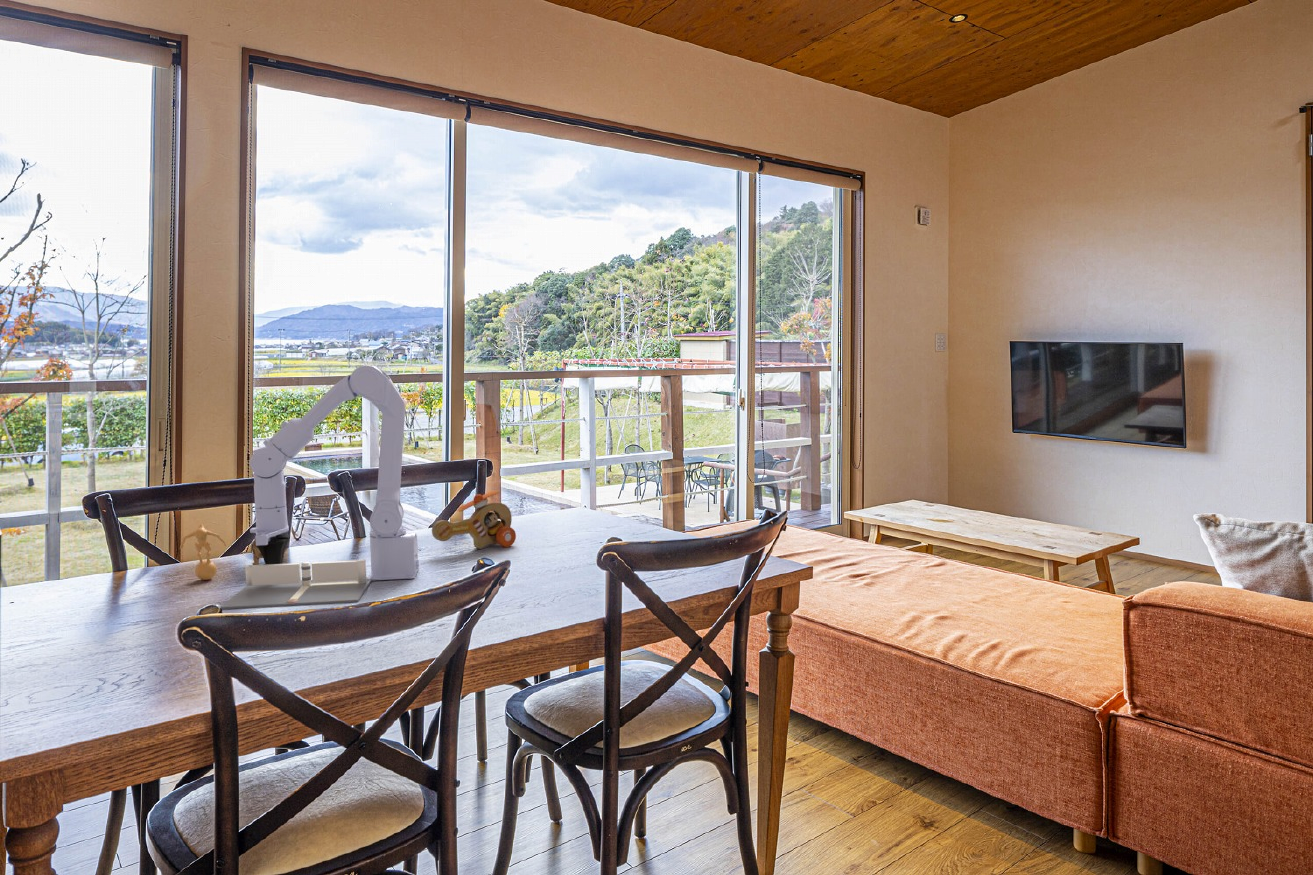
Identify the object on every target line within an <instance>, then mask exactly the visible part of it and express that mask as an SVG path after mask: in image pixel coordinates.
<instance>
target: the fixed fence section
mask: <svg viewBox="0 0 1313 875" xmlns="http://www.w3.org/2000/svg"><path fill="white" fill-rule="evenodd" d="M366 565H367V563H366V559H357V560H339V561H336V560H335V561H319V562H315V561H313V562H311V561H304V562H301V563H300V570H301V581H302V585H303V586H309V585H311V580H312V582H330V581H350V580H358V583H360V584H364V583H366V577H367V566H366Z"/></svg>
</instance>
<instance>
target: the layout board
mask: <svg viewBox="0 0 1313 875" xmlns="http://www.w3.org/2000/svg"><path fill="white" fill-rule="evenodd" d="M367 577H368V576H366V583H364V584H360V583H358V580H350V581H330V582H312V579H311V585H309V586H303V585H302V580H301V582H300V583H290V584H270V585H251V586H246V585H245V586H244V587H243V588H242V589H241V590H239V591H238V592H237V593H236V594H234V595H233V596H232V597H231V598H230V599H229V600H227V601H226V602H225V603H224V604H223V605H221V607H220V610H232V609H249V608H250V609H252V608H267V607H268V608H269V607H285V606H286V607H287V606H305V605H307V606H308V605H309V606H310V605H323V604H324V605H326V604H342V603H343V604H344V603H358V602H359V601H360V599H361V598H362V596H363V595H364V594H365V592H366V591H367V589H368V587H369V586H370V585H371V583H372V581H371V580H367Z"/></svg>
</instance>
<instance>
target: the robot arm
mask: <svg viewBox="0 0 1313 875" xmlns="http://www.w3.org/2000/svg"><path fill="white" fill-rule="evenodd" d="M358 397H362V398H363V399H365V400H368V401H369V402H371V404H373V406H374V407H376V409H378V411H379V412H381V427H380V441H379V443H380V444H379V456H378V457H379V458H378V459H379V460H378V475H377V476H378V477H377V491H376V498H375V505H374V506H373V509H372V513H371V514H370V518H369V525H370V528H371V531H370V532H369V546H370V549H369V550H370V570H371V571H370V572H369V574H368V576H366V577H367V580H371V582H372V581H385V580H386V581H388V580H391V581H392V580H407V579H415V578H416V575H417V574H418V572H419V570H420V567H419V565H420V564H419V563H420V562H419V549H418V548H419V547H418V536H417V533H416V532H407V530H406V529H407V528H405V527H404V526H403V518H404V516H405V512H404V508H403V505H402V503H401V484H402V483H401V480H402V467H403V454H404V453H403V451H404V436H405V420H406V407H407V406H406V402H405V400H404V399H403V397H402V395H401V394H400V392H399V390H398V389H397V387H396V385H395V383H394V382H393V381H392V379H391V377H390V376H389V375H388V374H387V373H386V372H384V370H382V369H381V368H380V367H378V366H377V365H373V364H365V365H360V366H358V367H357V368H355V369H354V370H353V371H352V372H351V374H348V375H346V376H345V377H344V378H342V379H341V380H339V381H338V382H336V383H335V384H334V385H333V386H331V388H330V389H329V390H327V392H326V393H325V394H324V395H323V396H322V397H321V398H320V399H319V400H318V401H317V402H316V403H315V404H314V405H313V406H312V407H311V408H310V409H309V410H308V411H307V412H306V413H305V414H304V415H303V416H302V417H293V418H290V419H289V420H288V421H287V420H284V421H283V422H281V423H280V427H281V428H279V430H277V432H275V434H274V435H272V437H271V438H269V439H268V438H266V439H265V440H264V441H263V442H262V444H263V445H264V447H260V448H257V449H256V450H255V451H254V453H253V454H252V456H251V457H250V460H249V465H250V466H249V467H250V469H251V471H252V473H253V481H254V482H253V494H254V510H255V511H254V512H255V527H251V528H250V529H249V532H250V533H251V534H255V537H254V539H256V540H255V545H256V546H257V548H258V549H259V550H260V552H261V554H262V556H263V558H262V559H263V561H264V565H269V564H284V563H283V562H284V555H285V553H286V549H287V545H288V543H289V541H290V539H291V536H290V534H285V533H287V532H289V531H290V530H289V528H290V527H289V523H288V512H287V511H288V508H287V496H286V494H287V493H286V482H285V474H284V473H285V472H284V469H285V467H286V466H287V464H288V461H292V460H293V459H294V458H295V457H296V456H297V455H298V454H300V452H301V451H302V450H303V449H304V448H305V447H306V446H307V445H308V444H310V442H311V441H312V440H314V439H315V428H316V427H317V426H319V424H320V423H321V422H323V421H324V420H325V419H326V418H327V417H329V415H330V414H332V413H333V412H334V411H335V410H336V409H337V408H338V407H339V406H340V405H341V404H343V403H344V402H347V401H351V400H355V399H356V398H358Z"/></svg>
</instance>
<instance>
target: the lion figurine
mask: <svg viewBox="0 0 1313 875" xmlns="http://www.w3.org/2000/svg"><path fill="white" fill-rule="evenodd" d="M255 540H256V539H255V538H254V539H253V541H252V543H251V546H250V547H251V552H252V554H253V555H252V559H253V562H252V564H251V565H260V559H263V556H262V554H261V552H260V550H259V549H258V548H257V546H256V545H255Z"/></svg>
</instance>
